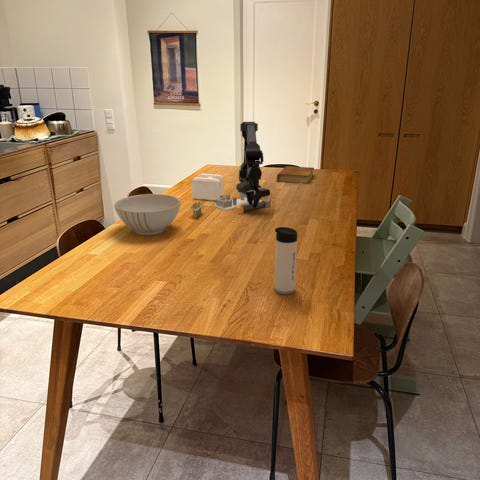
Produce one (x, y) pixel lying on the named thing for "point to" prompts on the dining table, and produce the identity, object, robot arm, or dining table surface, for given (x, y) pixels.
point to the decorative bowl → (148, 212)
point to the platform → (197, 208)
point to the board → (231, 202)
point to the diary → (295, 175)
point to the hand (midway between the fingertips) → (252, 206)
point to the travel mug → (285, 260)
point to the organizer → (207, 186)
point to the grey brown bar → (251, 206)
